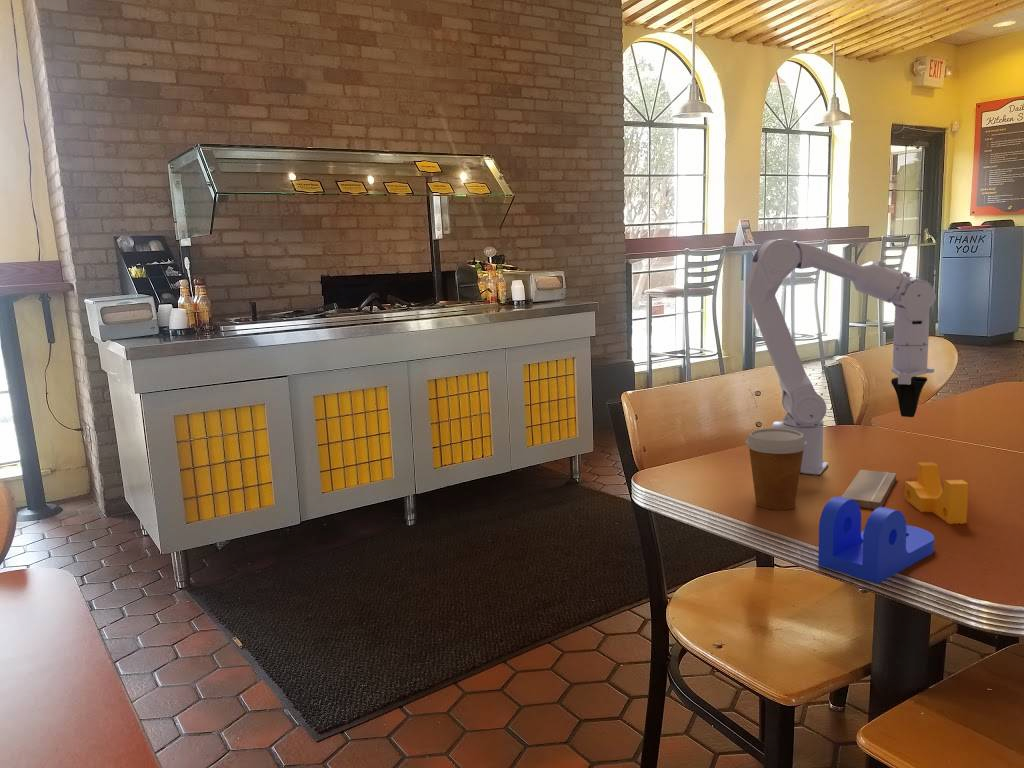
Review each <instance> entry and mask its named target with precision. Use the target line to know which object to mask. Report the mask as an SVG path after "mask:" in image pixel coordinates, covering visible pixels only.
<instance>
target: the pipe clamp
mask: <svg viewBox="0 0 1024 768" xmlns="http://www.w3.org/2000/svg"><path fill="white" fill-rule="evenodd" d="M939 467H940V466H939V465H938V464H937V463H936V462H934V461H929V462H928V461H923V462H920V461H919V462H916V479H915V480H914V481H913V480H912V481H909V480H908V481H904V482H905V483H904V485H905V486H904V500H905V501H906V502H907V503H909V504H910V505H911V506H913V507H915V509H916V510H918V511H919V512H921V513H934V514H935V515H936V516H938V517H939V518H940V517H941V518H940V519H942V521H944V520H945V521H944V522H946V523H947V524H948V523H949V524H948V525H955V524H956V525H959V524H958V523H960V525H961V524H964V523H966V524H967V523H968V522H967V520H968V519H967V518H968V500H969V499H968V498H969V482H967V481H965V480H964V479H949V480H948V479H944V485H943V486H942V483H941V479H940V472H939V471H940V469H939ZM954 523H955V524H954Z"/></svg>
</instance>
